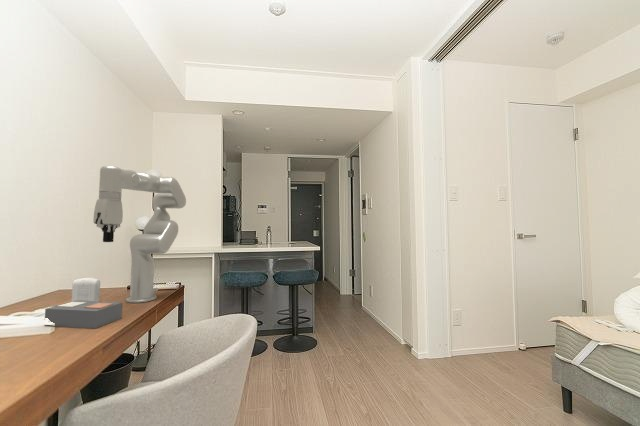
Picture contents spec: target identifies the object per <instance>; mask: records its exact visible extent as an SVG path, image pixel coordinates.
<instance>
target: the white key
mask: <svg viewBox="0 0 640 426" xmlns="http://www.w3.org/2000/svg"><path fill="white" fill-rule="evenodd" d="M69 302H70V303H69ZM69 302H66V304H65V303H62V305H61V304H58V305H59V306H57V305H56V306H57V307H70V308H72V307H76V306H79V305H83V304H86V303H87V302H71V301H69Z"/></svg>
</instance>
